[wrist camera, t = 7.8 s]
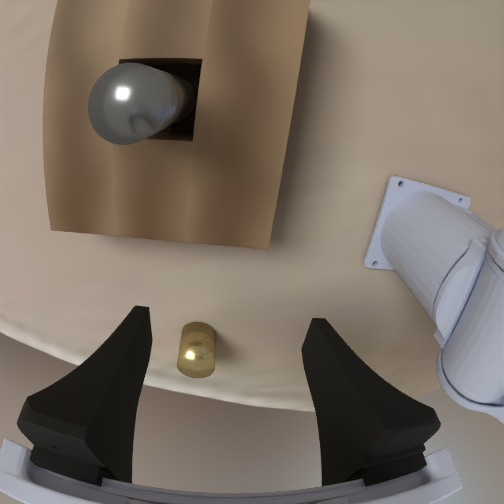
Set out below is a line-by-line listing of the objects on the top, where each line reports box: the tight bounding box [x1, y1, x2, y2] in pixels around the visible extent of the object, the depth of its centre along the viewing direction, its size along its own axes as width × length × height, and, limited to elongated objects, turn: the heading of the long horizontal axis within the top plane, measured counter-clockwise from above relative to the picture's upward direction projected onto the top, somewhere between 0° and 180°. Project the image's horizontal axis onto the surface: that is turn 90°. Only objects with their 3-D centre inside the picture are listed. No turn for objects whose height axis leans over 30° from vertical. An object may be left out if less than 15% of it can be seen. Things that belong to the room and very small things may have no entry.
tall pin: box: [88, 63, 196, 145], centre depth 13 cm, size 3×3×9 cm
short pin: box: [177, 322, 216, 378], centre depth 25 cm, size 3×3×4 cm
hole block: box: [43, 0, 310, 249], centre depth 15 cm, size 14×16×4 cm
